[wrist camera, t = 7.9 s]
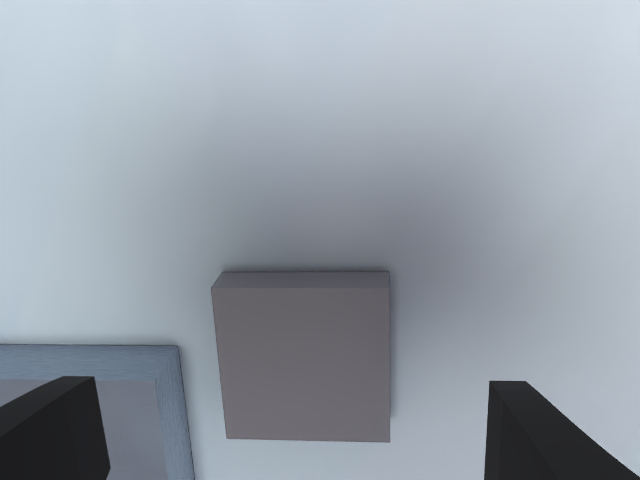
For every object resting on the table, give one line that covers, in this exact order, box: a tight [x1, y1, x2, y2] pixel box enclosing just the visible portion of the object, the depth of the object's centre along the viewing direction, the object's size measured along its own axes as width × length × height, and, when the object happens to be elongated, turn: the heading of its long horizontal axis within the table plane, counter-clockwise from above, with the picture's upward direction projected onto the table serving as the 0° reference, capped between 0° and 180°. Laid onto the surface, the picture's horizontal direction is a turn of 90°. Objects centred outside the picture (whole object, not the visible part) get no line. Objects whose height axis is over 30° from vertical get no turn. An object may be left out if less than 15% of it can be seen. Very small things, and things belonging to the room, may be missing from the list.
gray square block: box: [211, 272, 390, 443], centre depth 21 cm, size 6×6×2 cm
